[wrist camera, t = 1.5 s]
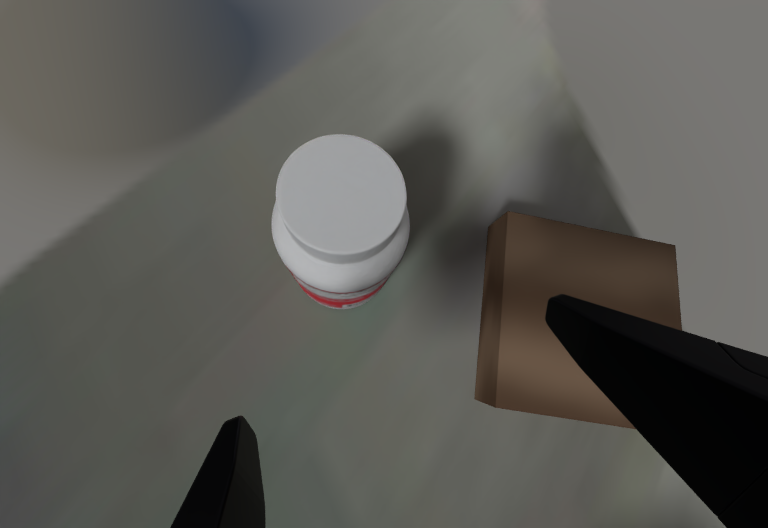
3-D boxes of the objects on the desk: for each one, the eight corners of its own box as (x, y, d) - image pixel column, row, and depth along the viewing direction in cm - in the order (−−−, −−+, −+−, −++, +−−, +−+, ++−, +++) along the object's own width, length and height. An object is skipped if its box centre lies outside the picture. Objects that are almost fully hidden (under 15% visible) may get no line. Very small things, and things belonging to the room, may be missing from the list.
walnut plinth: (644, 425, 22) (690, 437, 19) (474, 399, 21) (495, 407, 18) (637, 256, 25) (675, 245, 22) (488, 227, 24) (508, 211, 21)
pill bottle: (320, 208, 23) (302, 89, 12) (400, 243, 23) (450, 155, 13) (279, 288, 21) (217, 230, 11) (365, 325, 21) (389, 305, 11)
